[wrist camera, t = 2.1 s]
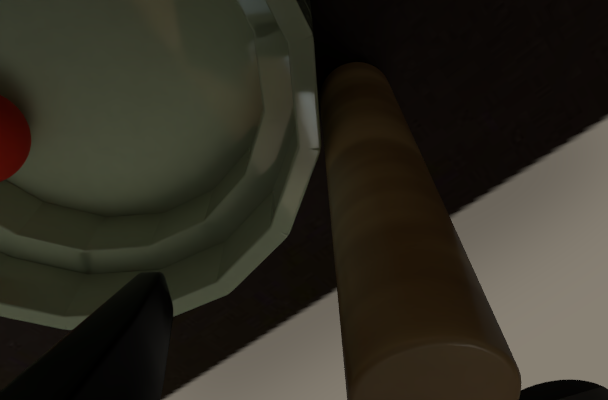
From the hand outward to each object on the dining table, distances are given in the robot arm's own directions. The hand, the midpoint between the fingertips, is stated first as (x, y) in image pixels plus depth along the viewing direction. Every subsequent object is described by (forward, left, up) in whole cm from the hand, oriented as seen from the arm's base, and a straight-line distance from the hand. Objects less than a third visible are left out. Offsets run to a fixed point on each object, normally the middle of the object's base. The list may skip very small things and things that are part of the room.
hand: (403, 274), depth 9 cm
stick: (0, 0, -9) cm, 9 cm away
